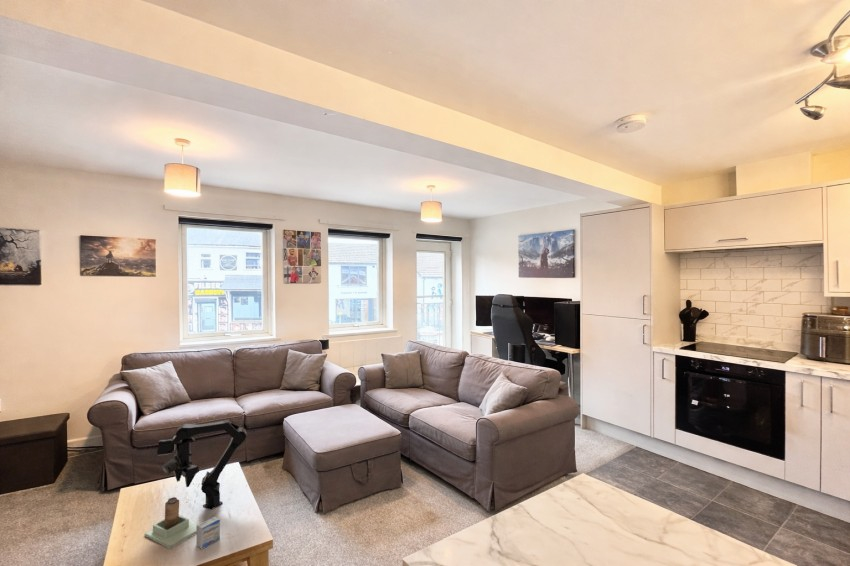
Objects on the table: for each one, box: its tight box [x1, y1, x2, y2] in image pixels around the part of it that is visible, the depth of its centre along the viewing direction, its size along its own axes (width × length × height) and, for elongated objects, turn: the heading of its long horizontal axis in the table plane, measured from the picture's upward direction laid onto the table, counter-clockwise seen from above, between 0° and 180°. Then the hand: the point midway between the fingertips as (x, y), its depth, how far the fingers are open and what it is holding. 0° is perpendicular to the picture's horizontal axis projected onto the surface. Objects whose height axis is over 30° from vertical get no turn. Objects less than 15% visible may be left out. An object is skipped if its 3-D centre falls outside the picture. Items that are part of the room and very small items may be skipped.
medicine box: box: [195, 516, 221, 549], centre depth 168 cm, size 8×4×9 cm, turn 148°
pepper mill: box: [164, 496, 180, 530], centre depth 175 cm, size 5×5×13 cm
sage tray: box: [144, 514, 198, 549], centre depth 174 cm, size 18×14×4 cm
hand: (182, 484), depth 190 cm, fingers open, 9 cm apart
